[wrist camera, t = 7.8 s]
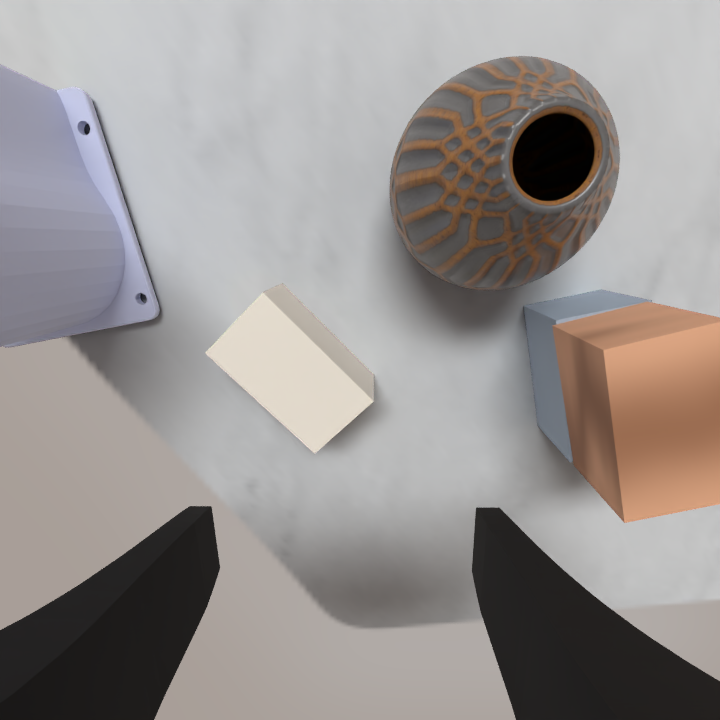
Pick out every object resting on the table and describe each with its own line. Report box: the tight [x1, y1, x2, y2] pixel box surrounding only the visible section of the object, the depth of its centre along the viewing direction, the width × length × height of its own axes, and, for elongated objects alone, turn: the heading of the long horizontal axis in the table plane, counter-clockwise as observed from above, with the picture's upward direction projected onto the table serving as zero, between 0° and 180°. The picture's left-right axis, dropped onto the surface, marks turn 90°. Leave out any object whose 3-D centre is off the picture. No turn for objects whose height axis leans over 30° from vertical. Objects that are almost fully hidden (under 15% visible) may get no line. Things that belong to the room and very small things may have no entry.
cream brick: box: [205, 283, 374, 454], centre depth 18 cm, size 6×3×4 cm, turn 44°
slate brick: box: [524, 290, 652, 462], centre depth 18 cm, size 6×3×4 cm, turn 13°
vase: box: [390, 56, 620, 290], centre depth 13 cm, size 7×7×9 cm
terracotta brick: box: [552, 302, 720, 523], centre depth 14 cm, size 6×3×4 cm, turn 16°
